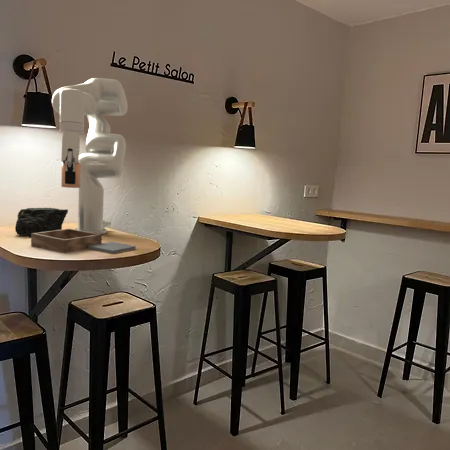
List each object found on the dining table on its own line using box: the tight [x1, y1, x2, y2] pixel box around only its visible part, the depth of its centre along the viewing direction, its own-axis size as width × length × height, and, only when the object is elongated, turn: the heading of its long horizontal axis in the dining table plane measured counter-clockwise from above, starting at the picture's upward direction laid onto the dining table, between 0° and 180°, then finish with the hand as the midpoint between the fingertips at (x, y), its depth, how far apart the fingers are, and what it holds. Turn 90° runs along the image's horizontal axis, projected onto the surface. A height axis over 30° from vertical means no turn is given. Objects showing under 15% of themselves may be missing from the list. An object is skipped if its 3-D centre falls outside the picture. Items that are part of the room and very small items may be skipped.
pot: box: [61, 161, 81, 189], centre depth 150 cm, size 6×6×8 cm
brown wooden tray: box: [30, 228, 103, 253], centre depth 153 cm, size 16×16×4 cm
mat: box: [87, 241, 137, 255], centre depth 152 cm, size 11×11×1 cm
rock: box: [14, 207, 69, 236], centre depth 171 cm, size 18×10×15 cm
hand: (71, 182), depth 150 cm, fingers closed on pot, 6 cm apart
